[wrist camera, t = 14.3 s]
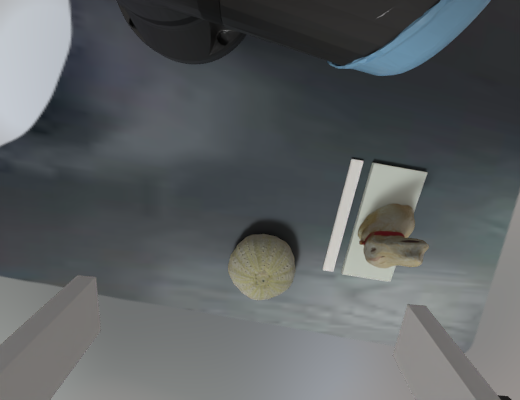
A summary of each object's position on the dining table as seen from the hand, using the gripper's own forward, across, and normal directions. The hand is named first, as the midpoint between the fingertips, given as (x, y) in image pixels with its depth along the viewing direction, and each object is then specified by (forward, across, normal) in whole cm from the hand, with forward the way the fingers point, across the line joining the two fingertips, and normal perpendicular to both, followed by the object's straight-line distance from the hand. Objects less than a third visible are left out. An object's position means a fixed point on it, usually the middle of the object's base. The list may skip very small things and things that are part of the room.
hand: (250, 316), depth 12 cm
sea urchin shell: (+27, +1, -12) cm, 30 cm away
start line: (+27, +12, -5) cm, 30 cm away
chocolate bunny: (+26, +17, -5) cm, 32 cm away
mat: (+27, +17, -5) cm, 32 cm away
